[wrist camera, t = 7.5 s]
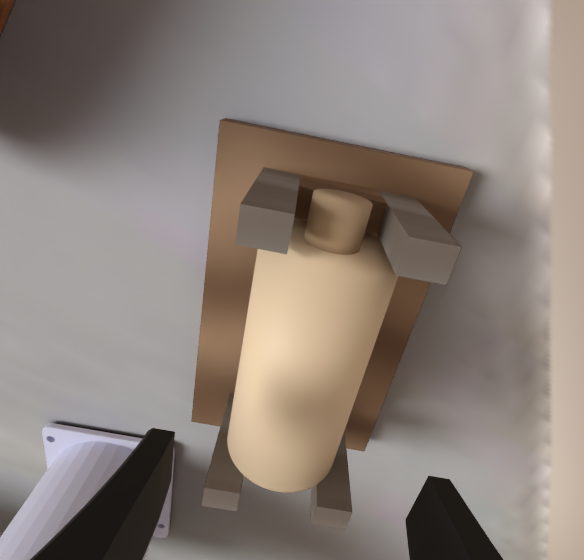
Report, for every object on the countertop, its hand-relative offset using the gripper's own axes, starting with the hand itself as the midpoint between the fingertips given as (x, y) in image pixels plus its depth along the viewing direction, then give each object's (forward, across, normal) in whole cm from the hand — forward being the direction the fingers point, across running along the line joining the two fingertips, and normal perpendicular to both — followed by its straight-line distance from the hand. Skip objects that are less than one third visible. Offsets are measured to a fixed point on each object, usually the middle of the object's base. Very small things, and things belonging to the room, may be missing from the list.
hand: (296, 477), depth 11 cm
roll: (+8, 0, 0) cm, 8 cm away
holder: (+9, 0, 0) cm, 9 cm away
